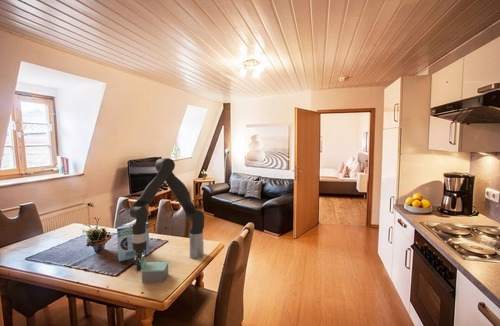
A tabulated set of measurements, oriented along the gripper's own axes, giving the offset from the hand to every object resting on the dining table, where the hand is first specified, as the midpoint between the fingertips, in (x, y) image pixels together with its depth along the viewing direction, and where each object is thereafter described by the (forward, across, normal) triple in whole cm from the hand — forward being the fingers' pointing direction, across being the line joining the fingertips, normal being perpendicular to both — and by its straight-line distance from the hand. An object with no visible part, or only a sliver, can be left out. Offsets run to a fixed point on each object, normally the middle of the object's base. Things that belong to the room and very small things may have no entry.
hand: (140, 268), depth 141 cm
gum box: (+7, +28, +15) cm, 33 cm away
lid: (-1, 0, -6) cm, 6 cm away
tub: (+7, 0, -9) cm, 11 cm away
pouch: (+7, +46, +24) cm, 53 cm away
